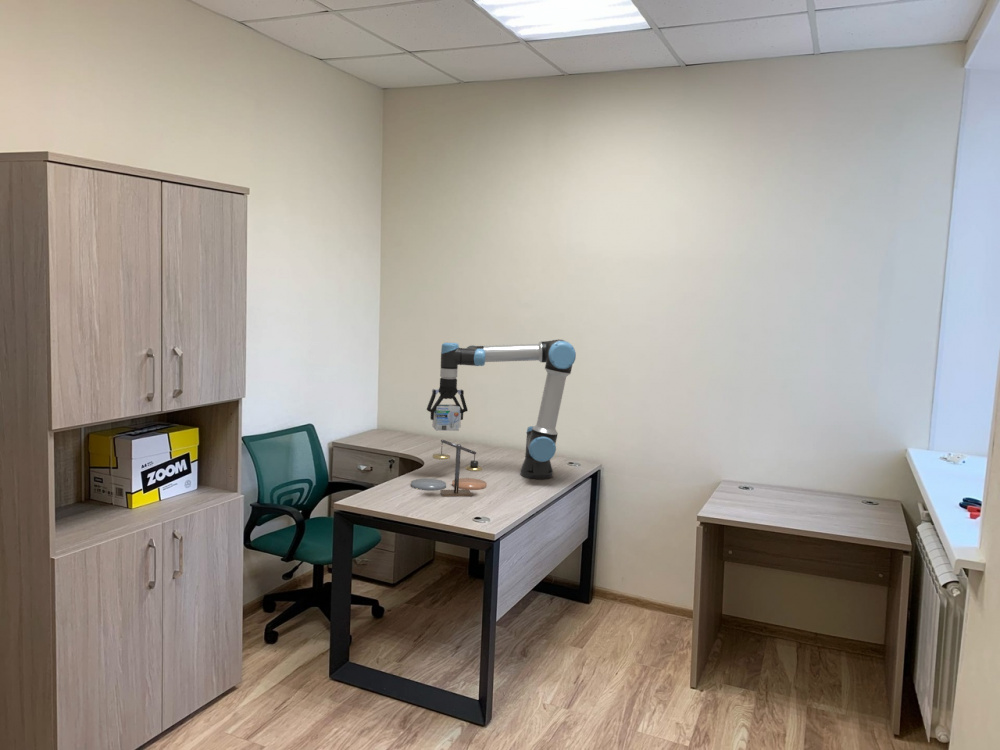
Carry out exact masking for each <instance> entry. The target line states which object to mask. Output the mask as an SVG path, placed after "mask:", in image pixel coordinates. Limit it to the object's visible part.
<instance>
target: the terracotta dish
mask: <svg viewBox="0 0 1000 750" xmlns="http://www.w3.org/2000/svg"><path fill="white" fill-rule="evenodd" d="M454 482H455V479H453V480H452V482H451V485H452V487H454ZM487 483H488V482H487V481H485V480H483V479H478V478H471V477H461V478H460V477H459V488H458V490H467V489H469V491H478V490H484V489H486V488H487V487H488V486H487V485H488V484H487Z"/></svg>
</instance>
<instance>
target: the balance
mask: <svg viewBox="0 0 1000 750" xmlns="http://www.w3.org/2000/svg"><path fill="white" fill-rule="evenodd" d="M440 442H441V444H445V445H448V446H450V447H454V448H455V449H456V450H455V464H454V465H455V467H454V468H455V469H454V480H455V482H454V486H453V489H441V490H439V493H440V495H441V496H442V497H445V498H446V497H447V498H448V497H450V498H451V497H472V495H473V493H472V492H471V490H469V489H467V490H465V489H459V479H460V467H461V465H460V464H461V451H464V452H466V453H470V454H472V455H473V460H470V465H466V466H465V470H466V471H470V472H482V471H483V466H479V460H475V459H476V454H477V452H476V451H474V450H472V449H469V448H466V447H464V446H462V444H460V443H457V444H456V443H453V442H451V441H448V440H445V439H440ZM440 451H441V452H440V453H434V454H432V458H433V459H435V460H441V461H442V460H449V459H451V455H449V454H446V453H443V447H441V449H440Z"/></svg>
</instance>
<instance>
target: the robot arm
mask: <svg viewBox="0 0 1000 750" xmlns="http://www.w3.org/2000/svg"><path fill="white" fill-rule="evenodd" d="M576 354H577V353H576V350H575V348H574V346H573V345H572V344H571V343H570V342H569V341H566V340H564V339H553V340H545V341H544V340H543V341H539V342H538V343H526V344H522V343H521V344H502V345H501V344H498V345H497V344H495V345H494V344H493V345H469V346H467V347H464V348H463V347H460V346H459V343H456V342H444V343H442V344H441V352H440V374H439V377H440V378H439V387H438V389H434V388H433V389H432V390H431V392H432V393H431V396H430V399H429V401H428V404H427V407H426V411H427V412H430V421H431V420H432V424H431V425H432V428H433V429H434V428H435V420H436V413H435V410H436V407H437V406H439V405H441V403H442V401H443V400H444V399H445V400H448V399H449V400H452V401H453V402H454V405H457V406H459V407H460V419H459V429H460V428H461V424H462V423H461V421H463V420H464V414H465V413H467V412H468V406H467V404H466V399H465V396H464V392H465V391H464V390H463V389H458V379H457V378H458V369H459V367H458V365H459V366H471V367H472V366H473V367H484V366H485V365H486V363H497V362H498V363H499V362H502V363H503V362H528V361H529V362H532V361H533V362H534V361H539V362H540V363H545V365H544V370H545V371H546V379H545V382H544V387H543V391H542V397H541V402H540V407H539V410H538V415H537V420H536V421H537V422H536V425H533V426H528V427H527V429H526V442H525V453H524V454H525V455H524V456H525V457H524V460H523V462H522V465H521V468H520V473H519V474H520V475H521V476H522V477H524V478H527V479H534V480H547V479H551V478H553V477H554V476H553V475H554V471H553V467H552V463H551V459H553V457H554V456H555V454H556V452H557V446H556V444H557V439H558V431H557V430H556V427H557V422H558V419H559V414H560V413H559V412H560V409H561V403H562V399H563V394H564V390H565V385H566V379H567V377H568V376H569V375H571V374H572V368H573V364H574V363H575V362H576V359H577V358H576ZM438 393H439V396H438V399H437V400H436V401H435V399H436V397H437V395H438ZM457 394H458V395H459V397H460V402H461V404H460V402H459V401H458V399H457V397H456V395H457ZM434 402H435V403H434Z"/></svg>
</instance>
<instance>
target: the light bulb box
mask: <svg viewBox="0 0 1000 750" xmlns="http://www.w3.org/2000/svg"><path fill="white" fill-rule="evenodd" d="M435 413H436V420H435V428H433V429H434V430H435V431H440V432H441V431H442V432H443V431H446V432H447V431H449V432H451V431H454V432H457V431H458V432H459V431H460V428H459V419H460V407H459V406H457V405H456V404H439V406H437V407H436V410H435Z"/></svg>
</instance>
